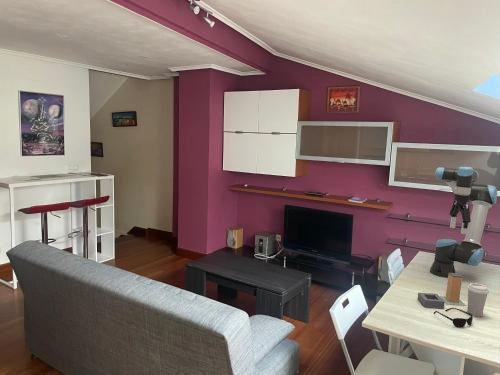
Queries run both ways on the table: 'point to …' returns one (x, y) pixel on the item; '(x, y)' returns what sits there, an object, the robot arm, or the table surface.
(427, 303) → the grey square frame
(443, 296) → the pad
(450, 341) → the table surface
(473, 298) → the coffee cup
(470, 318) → the sunglasses
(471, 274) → the table surface
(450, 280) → the plug
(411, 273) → the table surface
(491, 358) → the table surface
